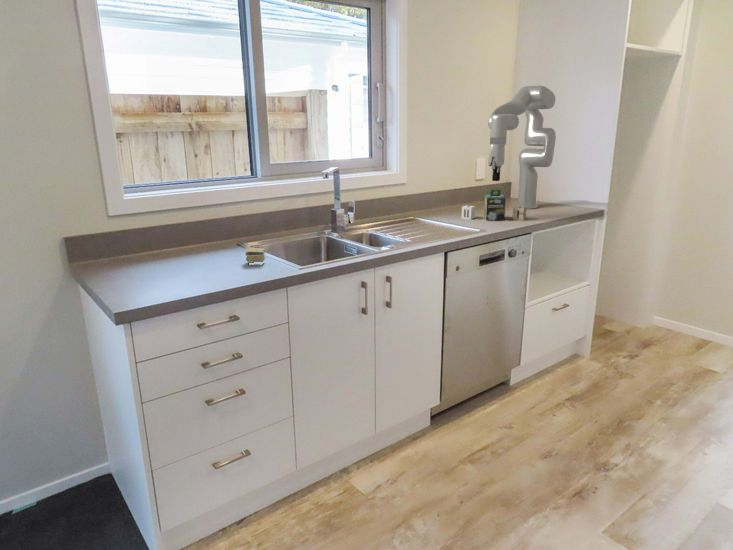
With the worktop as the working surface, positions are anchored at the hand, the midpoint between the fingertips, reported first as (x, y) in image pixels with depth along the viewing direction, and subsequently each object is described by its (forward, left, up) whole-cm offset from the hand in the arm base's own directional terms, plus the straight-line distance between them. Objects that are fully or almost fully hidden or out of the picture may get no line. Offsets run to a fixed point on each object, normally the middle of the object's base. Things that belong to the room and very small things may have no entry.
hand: (495, 180), depth 251 cm
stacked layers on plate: (+119, -46, -19) cm, 129 cm away
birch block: (-5, +11, -19) cm, 22 cm away
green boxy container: (0, 0, -19) cm, 19 cm away
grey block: (+4, -12, -19) cm, 23 cm away
